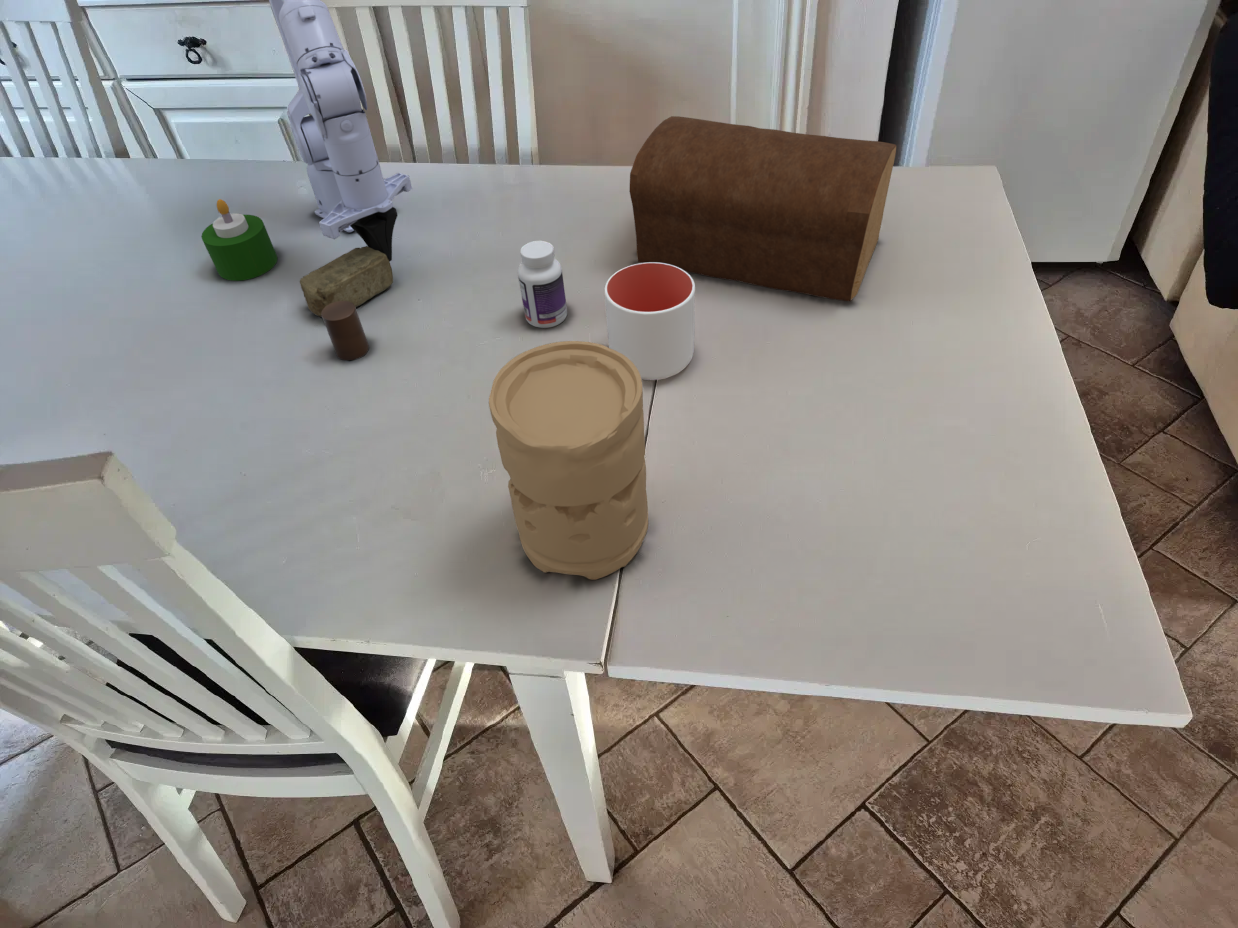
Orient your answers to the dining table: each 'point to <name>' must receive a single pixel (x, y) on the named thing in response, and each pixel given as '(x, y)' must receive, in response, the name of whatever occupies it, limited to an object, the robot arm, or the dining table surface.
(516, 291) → the dining table surface
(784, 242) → the bread
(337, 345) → the post
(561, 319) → the pill bottle
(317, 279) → the stone block
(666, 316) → the cup
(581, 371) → the container
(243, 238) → the candle
